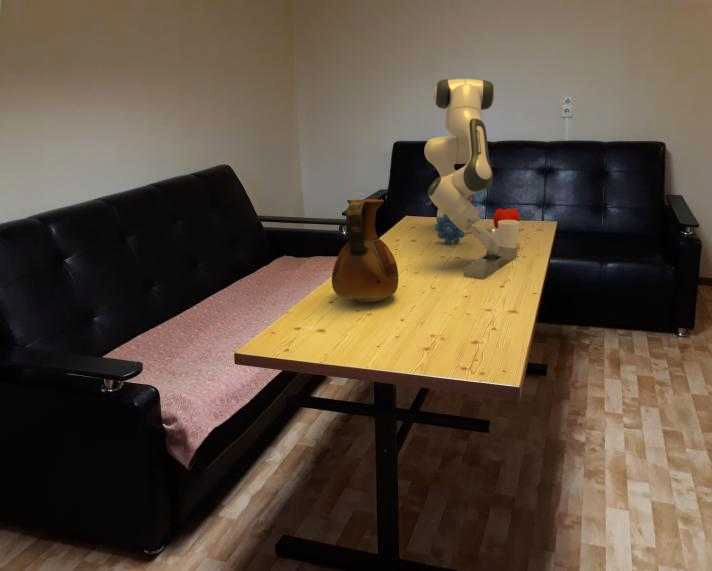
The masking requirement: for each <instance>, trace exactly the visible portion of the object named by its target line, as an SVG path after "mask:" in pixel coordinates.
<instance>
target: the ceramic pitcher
mask: <svg viewBox="0 0 712 571" xmlns="http://www.w3.org/2000/svg"><path fill="white" fill-rule="evenodd" d="M346 201H347V204H348V206H347V209H346V213H345V224H346V225H345V226H346V234H347V239H348V240H347V241H348V242H346V244H345V245H344V246H343V247H342V248H341V250H340V252H339V254H338V255H337V258H336V260H335V263H334V265H333V269H332V273H331V285H332V286H331V287H332V290H333V292H334V293H335V294H336V295H338V296H340V297H342V298H345V299H346V298H347V299H350V300H356V301H359V302H367V303H368V302H369V303H376V302H381V301H383V300H385V299H387V298H388V297H391V296H392V295H394V294H396V292H397V290H398V286H399V270H398V264H397V262H396V258H395V256H394V254H393V253H392V251H391V249H390V248H389V247H388V245H387V244H386V243H385V242H384V241H383V240H381V239H380V237H379V236H378V234H377V231H376V217H377V216H376V214H377V211H378V210H379V208H380V206H381V205H382V204H383V203H385V201H384V199H375V198H371V199H370V198H365V199H352V200H351V199H347V200H346Z"/></svg>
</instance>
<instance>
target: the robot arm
mask: <svg viewBox="0 0 712 571" xmlns="http://www.w3.org/2000/svg"><path fill="white" fill-rule="evenodd" d="M495 98H496V91H495V88H494V84H493V83H492V82H491V81H488V80H486V79H483V80H480V79H475V78H455V79H448V78H446V79H440V80H439V81H438V82H436V86H435V87H434V89H433V99H434V102H435V105H436V106H437V108H439V109H441V110H442V109H443V110H445V118H444V126H445V129H446V130H447V131H448V133H450V135H452V136H438V137H433V138H430V139H429V140H427V142H426V144H425V146H424V152H423V153H424V156H425V159H426V161H428V162H429V163H430V164H431V165H433V166H434V168H435V169H436V171H437V172H438V174H439V177H437V178H435V179H434V181H432V183H430V185H429V188H428V191H427V194H428V197H429V199H430V201H431V202H432V204H433V205H435V207H436V208H437V213H436V218H437V217H442V218H443V215H444V214H446V215H447V216H448V217H449V219H450V220H451V221H452V222H453V223H454V224H455V225H456V226H457V227H458V228H459V229H460V230H462V231H463V232H464V234H473V235H474V237H476V238H477V239H478V241H480V242H481V243H482V245H483V246H485V247H486V245H490V246H491V247H492V248H493V249H495V248H496V247H497V244H496V243H495V242H494V241H493V238H492V236H491V235H490V234H489V232H488V231H487V229H486V227H485V226H484V224H483V223H482V221H481V217H480V216H479V215H480V211H479V210H478V209H477V208H476V207H475V205H473V204H472V200H473V199H472V198H473V197H472V196H473V195H474V194H476V193H478V192H481V191H484V190H486V189H488V188H489V187H490V186H491V184H492V182H493V179H494V173H493V169H492V165H491V162H490V156H489V147H488V146H489V144H488V136H487V129H486V125H485V123H484V122H483V121H482V111H483V110H488V109H490V108H491V107H492V105H493V103H494V101H495ZM457 164H458V165H459V164H460V165H463V164H465V165H464V166H463V167H461V168H459V169H458V170H457V169H455V165H457ZM435 224H438V223H437V222H436V223H435ZM433 229H434V230H435V228H434V227H433Z"/></svg>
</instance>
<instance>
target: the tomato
mask: <svg viewBox="0 0 712 571" xmlns="http://www.w3.org/2000/svg"><path fill="white" fill-rule="evenodd" d="M519 212H520V211H518V209H516V208H506V209H502V208H497V209H496V210H495V211H494V214H493V219H492V220H493V226H494V228H497V229H498V221H501V220H515V221H519V222H520V220H521V218H520V213H519Z"/></svg>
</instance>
